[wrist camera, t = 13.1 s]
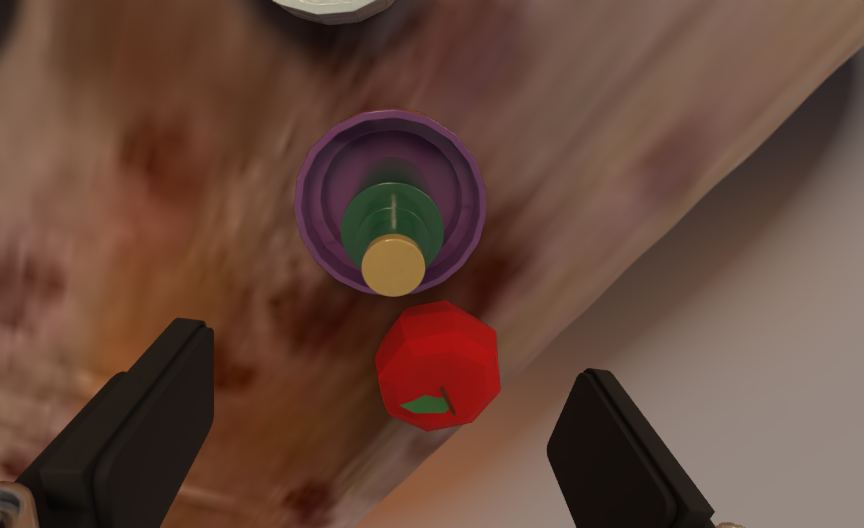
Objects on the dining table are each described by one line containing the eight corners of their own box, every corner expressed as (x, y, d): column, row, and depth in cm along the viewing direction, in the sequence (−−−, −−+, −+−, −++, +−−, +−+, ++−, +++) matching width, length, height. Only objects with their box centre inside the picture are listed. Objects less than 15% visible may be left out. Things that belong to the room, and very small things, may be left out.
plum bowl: (435, 76, 29) (444, 74, 25) (494, 231, 34) (510, 253, 30) (275, 151, 30) (255, 162, 26) (356, 291, 36) (351, 321, 31)
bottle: (411, 143, 30) (426, 185, 18) (442, 214, 33) (474, 295, 20) (339, 176, 31) (303, 239, 18) (374, 243, 33) (364, 341, 21)
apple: (501, 294, 37) (538, 362, 28) (472, 386, 41) (495, 472, 32) (386, 276, 35) (384, 342, 26) (366, 374, 39) (359, 462, 30)
